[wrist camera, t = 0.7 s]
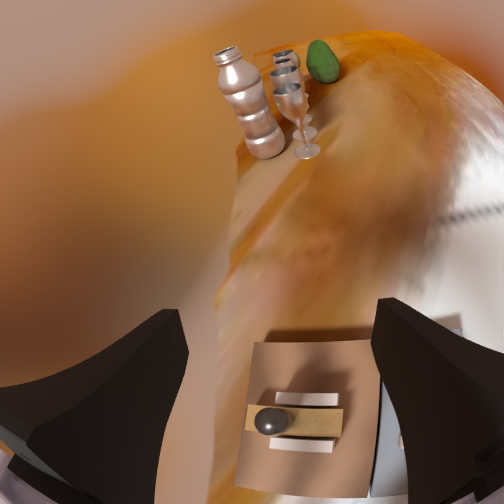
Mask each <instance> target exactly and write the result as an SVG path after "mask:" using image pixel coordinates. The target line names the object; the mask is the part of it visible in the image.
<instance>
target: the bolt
mask: <svg viewBox="0 0 504 504" xmlns="http://www.w3.org/2000/svg"><path fill="white" fill-rule="evenodd" d="M343 417H344V409H302V408H284V407H271V406H260V405H251V404H248V410H247V417H246V424H245V430H249V431H256V432H260V433H261V434H263V435H268V436H269V435H275V434H283V435H295V436H313V437H341V435H342V428H343Z"/></svg>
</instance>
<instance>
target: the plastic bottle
mask: <svg viewBox="0 0 504 504" xmlns="http://www.w3.org/2000/svg"><path fill="white" fill-rule="evenodd" d="M213 57H214V59H215V61H216V64H217V66H220V68H221V70H220V74H219V80H218V85H219V89H220V91H221V92H222V94H223V95H224V97H225V98H226V100H227V101H228V102H229V104H230V105H231V107H232V109H233V110H234V112H235V114H236V116H237V118H238V120H239V122H240V125H241V128H242V130H243V133H244V136H245V142H246V145H247V148H248V150H249V151H250V153H251V154H252V155H253V156H254V157H256V158H258V159H268V158H271V157H274V156H276V155H277V154H279V153H280V152H281V151H282V150H283V148H284V145H285V138H284V133H283V132H282V130H281V128H280V126H279V125H278V124H277V122H276V120H275V118H274V116H273V114H272V112H271V110H270V107H269V104H268V103H267V102H268V101H267V98H266V95H265V92H264V87H263V83H262V79H261V75H260V72H259V71H258V70H257V68H256V67H254V66H253V65H251V64H249V63H247V62H245V61H243V60H242V59H241V57H242V54H241V53H240V52H239V50H238V48H237V47H236V46H233V47H230V48H227V49H224V50H222V51H220V52H218V53H216V54H214V56H213Z"/></svg>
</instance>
